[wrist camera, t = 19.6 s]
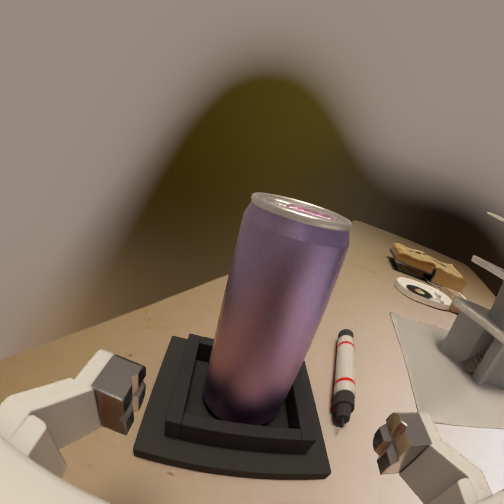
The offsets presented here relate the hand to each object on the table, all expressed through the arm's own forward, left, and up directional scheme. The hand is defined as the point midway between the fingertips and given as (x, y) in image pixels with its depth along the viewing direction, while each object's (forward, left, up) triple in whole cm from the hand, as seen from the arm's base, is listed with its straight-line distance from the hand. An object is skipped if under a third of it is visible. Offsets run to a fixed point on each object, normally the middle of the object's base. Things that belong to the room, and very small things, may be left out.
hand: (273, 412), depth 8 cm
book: (+58, +65, -11) cm, 87 cm away
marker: (+12, +15, -11) cm, 22 cm away
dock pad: (+1, +9, -11) cm, 15 cm away
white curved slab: (+46, +44, -11) cm, 65 cm away
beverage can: (+1, +9, -10) cm, 14 cm away
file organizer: (+40, +15, -11) cm, 44 cm away
